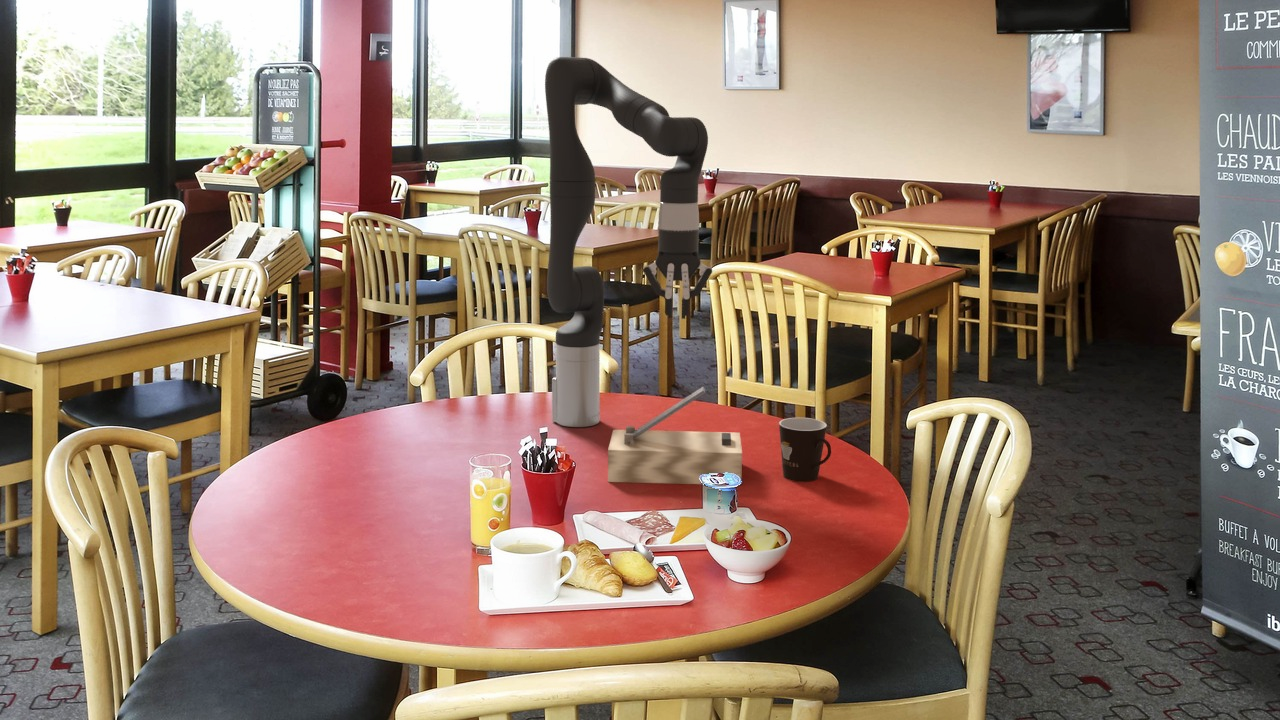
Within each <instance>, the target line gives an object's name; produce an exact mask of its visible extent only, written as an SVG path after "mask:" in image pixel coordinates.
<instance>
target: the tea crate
mask: <svg viewBox="0 0 1280 720" xmlns="http://www.w3.org/2000/svg"><path fill="white" fill-rule="evenodd" d="M635 430H636V426H629V425H628V426H627V425H626V426H625V429H613V430H612V433H611V437H610V440H609V441H610V442H609V445H608V448H607V449H608V450H607V482H608V483H636V484H638V483H639V484H641V483H643V484H644V483H645V484H680V485H681V484H683V485H702V484H701V483H700V480H699V476H700V475H702V474H709V473H725V472H728V473H734V474H736V475H738V476H739V477H740V478H741V479H742V468H743V465H742V464H743V450H742V449H743V448H742V440H741V432H734V431H733V432H731V431H730V432H727V431H692V430H691V431H689V430H688V431H687V430H686V431H685V430H650V429H649V430H647V431H646V432H644V433H643V434H641V435H639V436H638V437H636V438H635V439H633V435H634V433H632V432H634V431H635Z"/></svg>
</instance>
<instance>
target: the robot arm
mask: <svg viewBox="0 0 1280 720" xmlns="http://www.w3.org/2000/svg"><path fill="white" fill-rule="evenodd" d="M544 79H545V80H544V89H545V90H544V93H545V101H546V102H545V105H546V112H547V122H548V135H549V137H548V138H549V208H550V212H549V213H550V229H549V230H550V231H549V233H550V234H549V235H550V239H549V252H548V253H549V254H548V262H547V263H548V264H547V274H546V275H547V277H546V278H547V279H546V292H547V294H546V295H547V299H548V302H549V305H550V307H551V309H552V310H553V311H555V312H556V313H559V314H568V313H574V314H573V316H572V318H571V319H570V320H569V321H568V322H566V323H565V324H563V325H562V326H560V327H558V328H557V330H556V332H555V376H554V377H553V378H552V379H551V399H552V400H551V405H552V406H551V407H552V409H551V414H552V415H551V416H552V417H551V418H552V419H551V420H552V421H551V422H553V423H557V424H558V425H560V426H562V427H563V426H564V427H570V428H586V427H592V426H595V425H597V424H599V423H600V413H601V412H600V381H601V378H600V375H601V374H600V362H601V360H600V358H601V357H600V353H601V352H600V348H601V347H600V342H601V341H600V338H601V333H602V331H603V321H604V306H605V305H604V303H605V286H604V281H603V276H602V275H601V273H600V271H599V270H598V268H596V267H594V266H591V265H589V266H588V265H585V266H575V267H574V258H575V257H574V256H575V251H576V246H577V242H578V240H579V237H580V235H581V233H582V232H583V230H584V229H585V226H586V224H587V223H588V220H589V219H590V216H591V215H592V212H593V210H594V207H595V203H596V174H595V173H596V172H595V168H594V165H593V163H592V160H591V158H590V156H589V155H588V153H587V151H586V149H585V146H584V145H583V143H582V141H581V139H580V137H579V134H578V132H577V125H576V118H575V117H576V114H575V106H578V105H580V106H583V105H589V104H590V105H595V106H598V107H599V106H600V107H602V108H605V109H607V110H608V111H610V112H611V113H612V116H613V118H614V120H616V122H617V123H618V124H619V125H621V127H623V128H624V129H626V130H627V131H628V132H631V133H633V134H634V135H636V136H638V137H639V138H642V139H643V140H644V142H645V143H646V144H647V145H648V146H649V147H650V149H652V151H654V152H655V153H657V154H660V155H661V156H665V157H672V158H673V157H676V161H675V163H674V166H673V167H672V168H670V169H667V170H665V171H664V172H663V173H662V174H661V176H660V185H659V186H660V194H659V197H660V199H659V201H660V202H659V211H658V222H657V223H658V239H657V241H658V242H657V248H658V249H657V253H658V254H657V256H656V257H655V261H654V262H652V263H650V264H649V265H648V264H647V265H645V266H644V268H643V271H642V272H643V273H644V275H645V276H646V278H647V280H648V282H649V283H650V286H651V288H652V289H653V291H654V293H655V295H656V296H660V297H662V298H664V313H665V316H668V319H670V320H671V319H673V301H674V300H673V299H674V298H673V296H672V294H673V286H674V281H679V282H682V284H681V285H682V298H681V319H682V320H683V319H684V320H685V319H686V317H687V316H689V315H690V299H691V298H694V297H698V296H699V295H700V294H701V292H702V290H703V289H704V287H705V285H706V284H707V282H708V280H709V278H710V277H711V275H712V273H713V269H712V266H707V265H705V264H704V263H703V262H701V258H700V256H699V239H700V237H699V235H700V234H699V233H700V232H699V230H700V229H699V228H700V212H699V210H700V209H699V203H698V201H699V180H700V175H701V172H702V169H703V166H704V162H705V158H706V154H707V150H708V146H709V145H708V144H709V135H708V130H707V127H706V126H705V124H704V122H703V121H702V120H700V119H699V118H697V117H693V116H691V117H685V116H684V117H681V116H680V117H679V116H678V117H676V116H675V117H671V116H670V114H669V111H668V110H667V109H666V108H665V107H664V106H662V105H661V104H660V103H658V102H656V101H654V100H653V99H650V98H649V97H647V96H644V95H642V94H641V93H639V92H637V91H635V90H634V89H632V88H631V87H628V86H627V85H626V84H625V83H623V82H622V81H621V80H619V79H618V78H617V77H616V76H614V75H613V74H612V73H610V71H609V70H608V69H606V68H605V67H604V66H602V65H601V64H600V63H599V62H597V61H596V60H594V59H592V58H587V57H580V56H579V57H577V56H576V57H574V56H572V57H571V56H558V57H555V58H553V59H552V60H550V61H549V63H548V65H547V67H546V70H545V78H544ZM657 268H658V270H659V271H660V272H661V274H662V275H663V277H664V278H665V279H666V283H665V288H662V286H661V285H660V283H659V281H658V279H657V277H656V275H657ZM698 269H699V273H698V274H699V276H700V277H699V279H698V280H697V283H696V284H695V285H694V288H692V289H690V280H691V278H692V277H693V276H694V274H695V273H696V271H697V270H698Z"/></svg>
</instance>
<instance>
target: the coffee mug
mask: <svg viewBox="0 0 1280 720" xmlns="http://www.w3.org/2000/svg"><path fill="white" fill-rule="evenodd" d="M827 425H828V424H827V423H826V422H825V421H822V420H820V419H816V418H810V417H788V418H784V419H781V420H780V421H779V422H778V427H779V439H780V441H779V442H780V451H781V452H780V454H781V465H782V476H783V478H785V479H786V480H788V481H793V482H797V483H806V482H814V481H816V480H818V478H819V474H820V469H821V465H822V464H825V463H826V462H827V461H828V460H829V459H830V458H831V455H832V448H831V444H830V442H829V441H828V439H826V433H827ZM824 444H825V445H826V447H827V448H826V449H827V454H826V456H825V457H824V459H822V457H823V456H822V455H823V450H824Z"/></svg>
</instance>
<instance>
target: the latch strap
mask: <svg viewBox="0 0 1280 720" xmlns="http://www.w3.org/2000/svg"><path fill="white" fill-rule="evenodd" d="M705 393H706V388H705V387H704V386H702V387H700V388H699V389H697V390H696V391H694V392H692V393H691V394H689V395H687V396H686V397H685V398H683V399H681V400H680V401H678V402H677V403H676V404H673V405H672V406H671V407H669V408H668V409H666V410H664V411H663V412H662V413H660V414H658V415H656V416H655V417H653V418H652V419H650V420H649V421H647V422H646V423H644V424H643V425H641V426H639V428H636V429H635V431H634V432H632V433H634V435H633V439H635V438H636V437H638V436H639V435H641V434H643V433H644V432H646V431H647V430H650V429H652V428H654V427H655V426H657V425H658V424H660V423H662V421H664V420H666V419H667V418H669V417H671V416H672V415H673V414H675V413H677V412H678V411H680V410H681V409H683V408H684V407H686V406H687V405H689V404H691V403H692V402H694V401H695V400H697V399H698V398H700V397H702V395H704V394H705Z"/></svg>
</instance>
